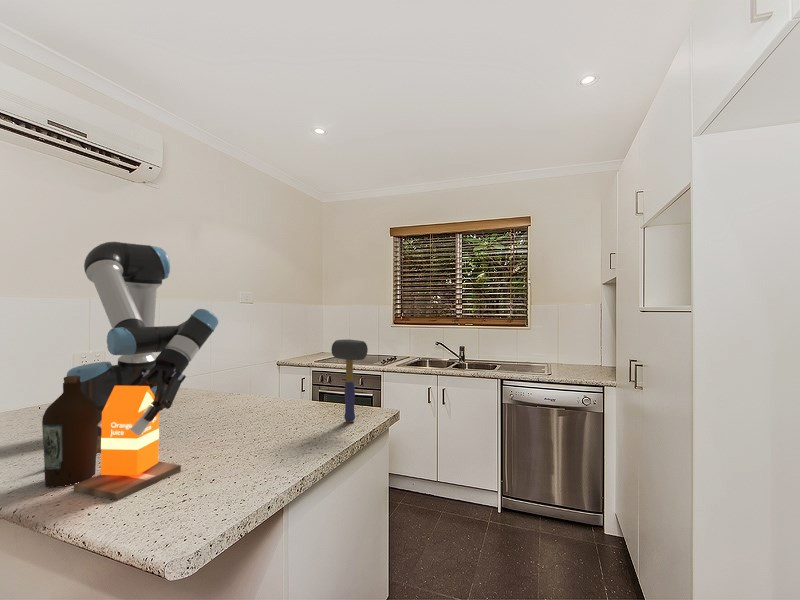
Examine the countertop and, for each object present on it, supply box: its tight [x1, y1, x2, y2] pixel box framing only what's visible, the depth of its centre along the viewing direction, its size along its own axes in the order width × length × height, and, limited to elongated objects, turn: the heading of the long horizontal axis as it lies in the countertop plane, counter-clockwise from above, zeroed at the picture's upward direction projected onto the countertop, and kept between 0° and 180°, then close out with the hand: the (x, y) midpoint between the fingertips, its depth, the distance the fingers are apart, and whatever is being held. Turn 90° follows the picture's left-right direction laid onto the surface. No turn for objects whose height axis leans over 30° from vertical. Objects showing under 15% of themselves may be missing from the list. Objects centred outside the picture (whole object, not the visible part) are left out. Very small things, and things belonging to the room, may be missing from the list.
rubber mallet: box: [331, 338, 369, 423], centre depth 141 cm, size 12×8×30 cm, turn 59°
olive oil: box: [41, 376, 99, 488], centre depth 95 cm, size 11×11×25 cm
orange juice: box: [100, 386, 160, 476], centre depth 93 cm, size 8×9×20 cm
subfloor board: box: [73, 460, 182, 502], centre depth 93 cm, size 14×16×2 cm
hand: (118, 430), depth 91 cm, fingers closed on orange juice, 10 cm apart
